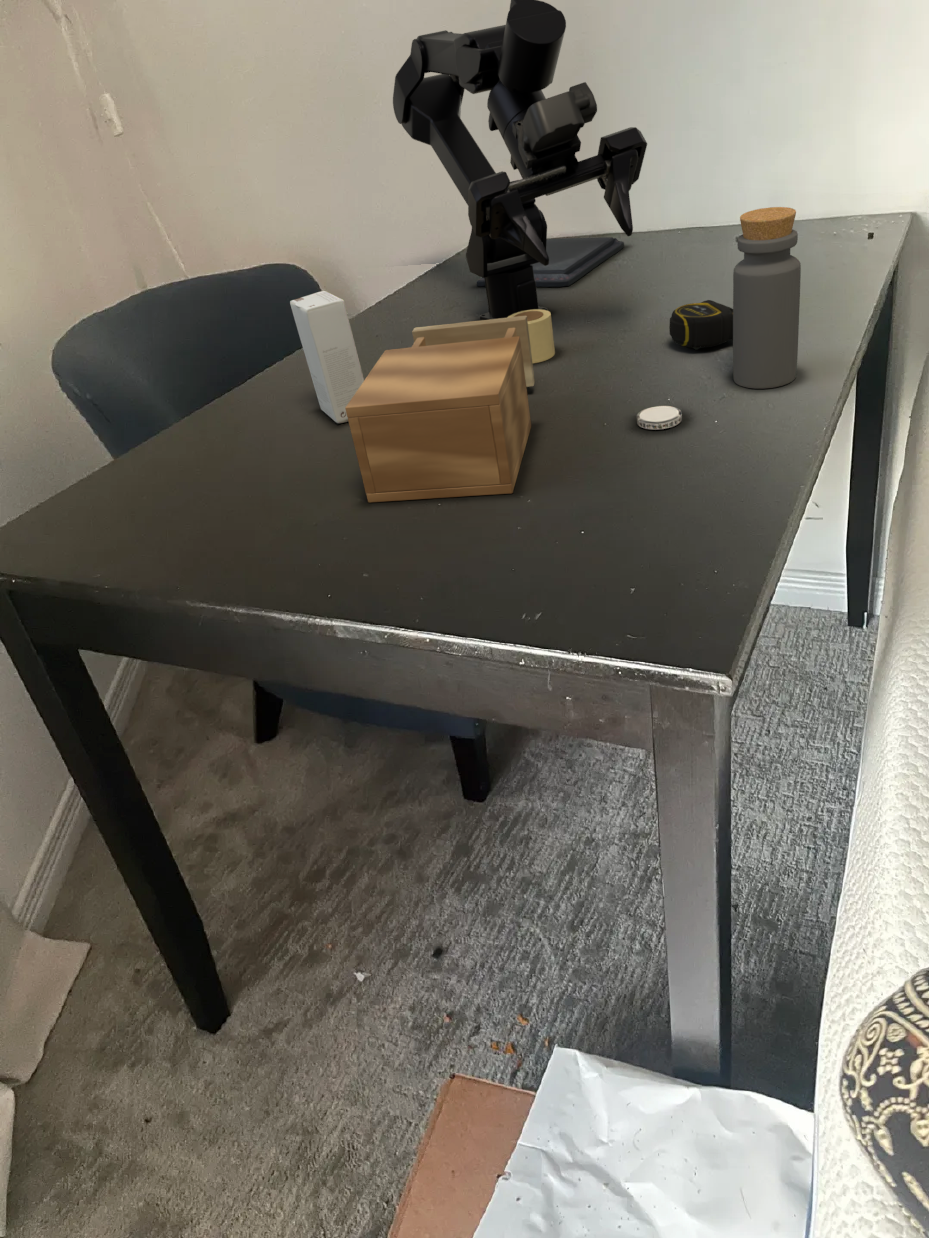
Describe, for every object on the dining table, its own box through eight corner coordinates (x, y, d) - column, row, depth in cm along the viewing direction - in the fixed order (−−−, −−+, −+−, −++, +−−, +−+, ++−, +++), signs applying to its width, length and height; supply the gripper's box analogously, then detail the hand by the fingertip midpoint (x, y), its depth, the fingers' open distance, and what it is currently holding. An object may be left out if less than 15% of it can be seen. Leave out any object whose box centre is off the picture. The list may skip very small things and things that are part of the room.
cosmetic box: (374, 413, 99) (348, 298, 93) (335, 426, 98) (305, 310, 91) (354, 398, 104) (328, 287, 97) (316, 410, 103) (287, 299, 96)
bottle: (725, 373, 93) (724, 213, 85) (783, 362, 93) (788, 201, 85) (744, 393, 88) (745, 226, 80) (806, 382, 88) (814, 213, 80)
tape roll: (502, 359, 107) (496, 319, 105) (536, 345, 109) (531, 306, 107) (529, 367, 103) (524, 326, 101) (564, 353, 106) (559, 312, 103)
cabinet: (403, 437, 93) (385, 350, 88) (531, 426, 90) (520, 336, 85) (367, 503, 82) (344, 407, 77) (512, 493, 79) (498, 394, 74)
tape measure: (748, 344, 99) (749, 308, 97) (690, 360, 98) (689, 324, 96) (714, 328, 104) (714, 294, 102) (658, 343, 103) (657, 309, 101)
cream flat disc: (634, 430, 85) (634, 423, 85) (639, 412, 88) (639, 406, 88) (679, 428, 84) (679, 421, 83) (683, 410, 87) (683, 404, 87)
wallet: (565, 273, 126) (471, 273, 134) (566, 288, 127) (473, 287, 135) (629, 232, 139) (539, 234, 147) (630, 246, 140) (541, 247, 148)
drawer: (433, 378, 103) (422, 315, 99) (539, 368, 100) (531, 303, 96) (399, 442, 89) (384, 372, 86) (519, 432, 87) (509, 360, 83)
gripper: (444, 95, 90) (507, 225, 86) (622, 36, 92) (691, 161, 88) (446, 177, 101) (502, 296, 97) (605, 123, 102) (666, 238, 99)
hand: (589, 248), depth 95 cm, fingers open, 9 cm apart
